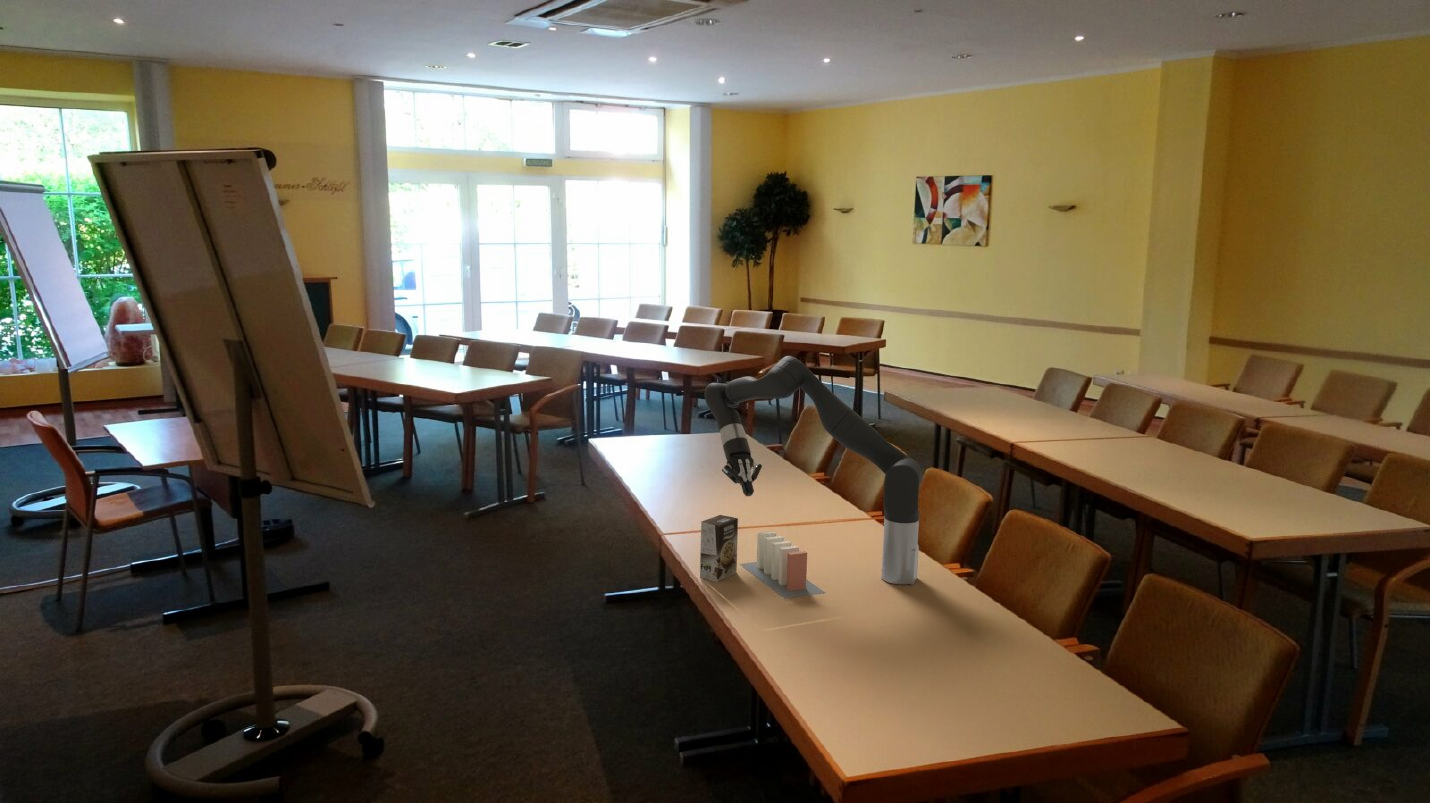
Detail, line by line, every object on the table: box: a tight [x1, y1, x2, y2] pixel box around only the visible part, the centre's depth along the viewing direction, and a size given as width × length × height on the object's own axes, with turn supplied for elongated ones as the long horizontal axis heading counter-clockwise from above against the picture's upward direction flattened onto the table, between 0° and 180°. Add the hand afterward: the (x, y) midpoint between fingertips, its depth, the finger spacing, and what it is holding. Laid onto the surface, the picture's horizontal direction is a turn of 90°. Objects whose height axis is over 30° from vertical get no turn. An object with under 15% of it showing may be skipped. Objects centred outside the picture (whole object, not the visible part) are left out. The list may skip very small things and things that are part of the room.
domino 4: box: [779, 545, 800, 585], centre depth 257 cm, size 5×2×10 cm, turn 114°
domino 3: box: [771, 540, 792, 580], centre depth 261 cm, size 5×2×10 cm, turn 113°
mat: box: [739, 561, 826, 600], centre depth 261 cm, size 28×12×1 cm, turn 23°
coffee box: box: [699, 514, 739, 582], centre depth 262 cm, size 9×6×16 cm
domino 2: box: [764, 535, 785, 574], centre depth 265 cm, size 5×2×10 cm, turn 113°
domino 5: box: [786, 550, 808, 591], centre depth 253 cm, size 5×2×10 cm, turn 113°
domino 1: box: [756, 531, 777, 569], centre depth 269 cm, size 5×2×10 cm, turn 113°
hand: (749, 495), depth 276 cm, fingers closed
